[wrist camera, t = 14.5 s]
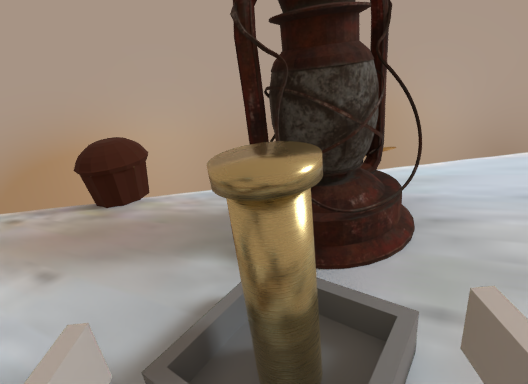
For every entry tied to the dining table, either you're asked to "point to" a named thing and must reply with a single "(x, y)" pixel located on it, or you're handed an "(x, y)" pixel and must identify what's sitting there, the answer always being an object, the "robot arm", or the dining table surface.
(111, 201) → the muffin
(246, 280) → the lock pin
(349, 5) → the lantern
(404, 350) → the tray
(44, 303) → the dining table surface
